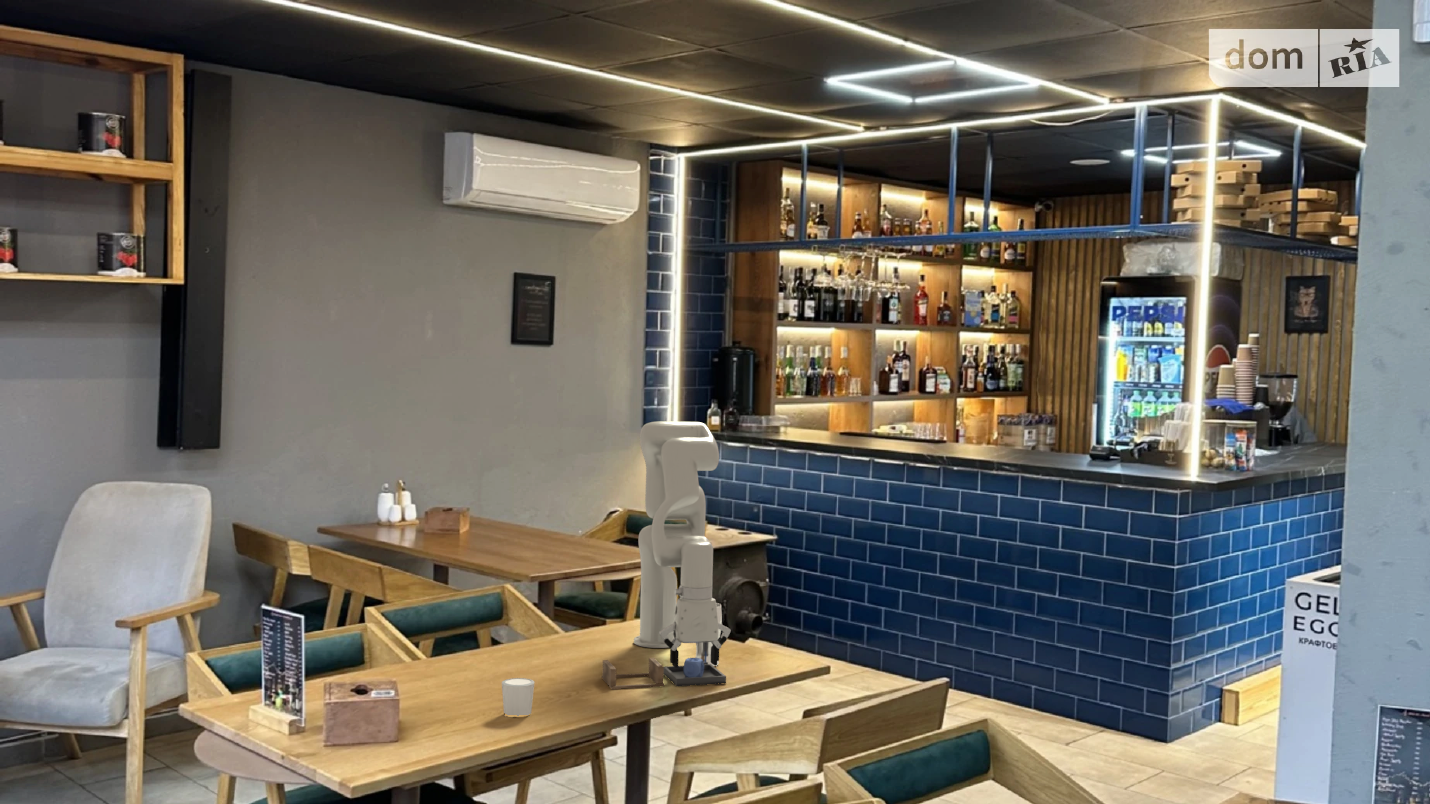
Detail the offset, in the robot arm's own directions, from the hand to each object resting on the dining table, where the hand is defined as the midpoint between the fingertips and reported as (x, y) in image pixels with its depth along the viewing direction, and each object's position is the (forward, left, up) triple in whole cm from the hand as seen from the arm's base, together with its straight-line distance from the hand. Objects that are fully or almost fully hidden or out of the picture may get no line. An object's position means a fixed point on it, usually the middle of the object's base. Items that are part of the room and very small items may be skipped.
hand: (694, 665), depth 307 cm
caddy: (0, -15, -3) cm, 15 cm away
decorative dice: (0, 0, -3) cm, 3 cm away
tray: (0, 0, -3) cm, 3 cm away
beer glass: (-13, +7, -3) cm, 15 cm away
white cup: (+21, -45, -3) cm, 50 cm away
